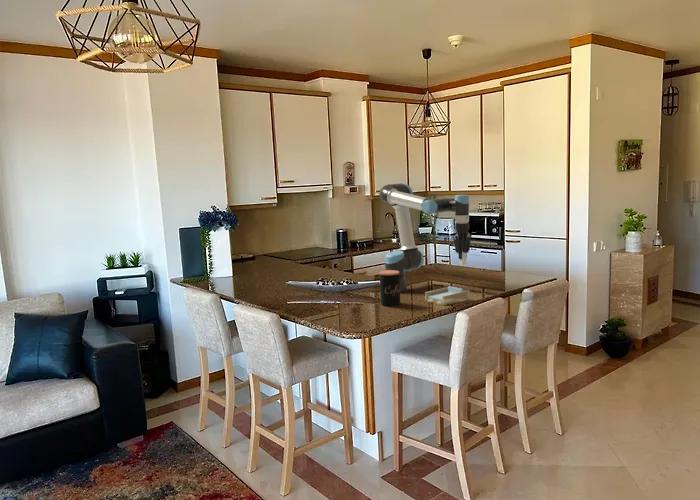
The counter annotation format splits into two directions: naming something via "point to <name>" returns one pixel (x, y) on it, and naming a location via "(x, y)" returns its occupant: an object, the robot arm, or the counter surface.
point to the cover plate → (445, 293)
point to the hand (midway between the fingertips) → (462, 264)
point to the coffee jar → (390, 287)
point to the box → (446, 297)
